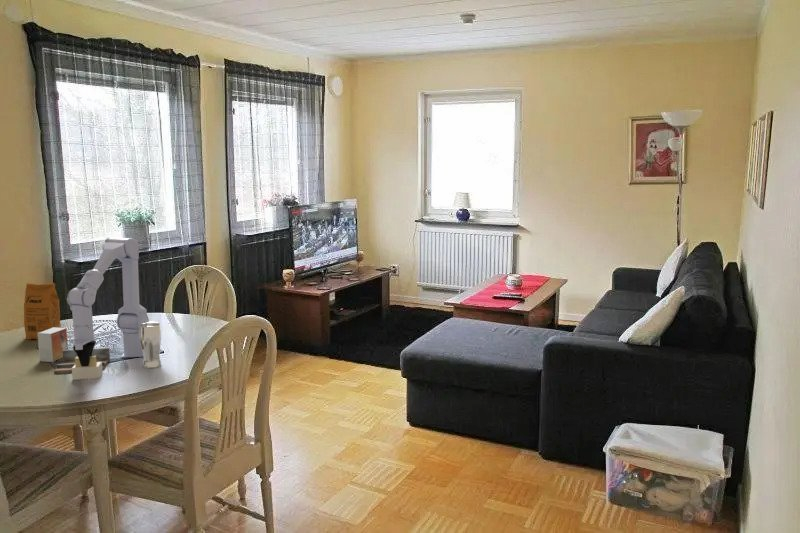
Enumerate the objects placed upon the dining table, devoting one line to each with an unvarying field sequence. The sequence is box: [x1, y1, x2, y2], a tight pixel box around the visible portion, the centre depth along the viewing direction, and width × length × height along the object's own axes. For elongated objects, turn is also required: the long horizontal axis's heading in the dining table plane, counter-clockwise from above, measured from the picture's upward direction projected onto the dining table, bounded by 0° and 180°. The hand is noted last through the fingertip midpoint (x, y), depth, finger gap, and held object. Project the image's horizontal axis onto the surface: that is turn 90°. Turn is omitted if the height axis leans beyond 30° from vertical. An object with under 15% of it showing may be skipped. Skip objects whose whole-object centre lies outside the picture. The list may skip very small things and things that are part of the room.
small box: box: [37, 327, 69, 363], centre depth 227 cm, size 8×6×10 cm
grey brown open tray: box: [53, 347, 111, 375], centre depth 220 cm, size 15×12×4 cm
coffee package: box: [23, 282, 62, 341], centre depth 252 cm, size 10×12×22 cm
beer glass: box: [139, 321, 162, 370], centre depth 220 cm, size 7×7×15 cm
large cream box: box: [71, 356, 103, 381], centre depth 210 cm, size 8×5×7 cm, turn 103°
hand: (86, 364), depth 209 cm, fingers closed on large cream box
